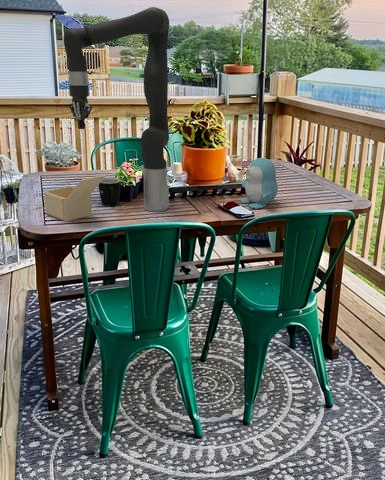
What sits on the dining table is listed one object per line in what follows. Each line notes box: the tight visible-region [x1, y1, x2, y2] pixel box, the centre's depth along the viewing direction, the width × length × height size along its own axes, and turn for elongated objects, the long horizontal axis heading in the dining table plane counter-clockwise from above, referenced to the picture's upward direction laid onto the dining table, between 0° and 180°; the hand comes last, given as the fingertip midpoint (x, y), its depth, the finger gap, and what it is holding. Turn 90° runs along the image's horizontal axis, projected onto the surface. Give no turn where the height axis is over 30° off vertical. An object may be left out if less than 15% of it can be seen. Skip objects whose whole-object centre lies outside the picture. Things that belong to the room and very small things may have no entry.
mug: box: [98, 177, 121, 207], centre depth 205 cm, size 12×9×10 cm
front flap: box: [67, 174, 107, 199], centre depth 181 cm, size 14×10×1 cm
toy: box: [240, 157, 278, 210], centre depth 209 cm, size 24×14×20 cm, turn 21°
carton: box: [43, 185, 93, 222], centre depth 192 cm, size 14×13×9 cm
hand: (81, 128), depth 198 cm, fingers closed
